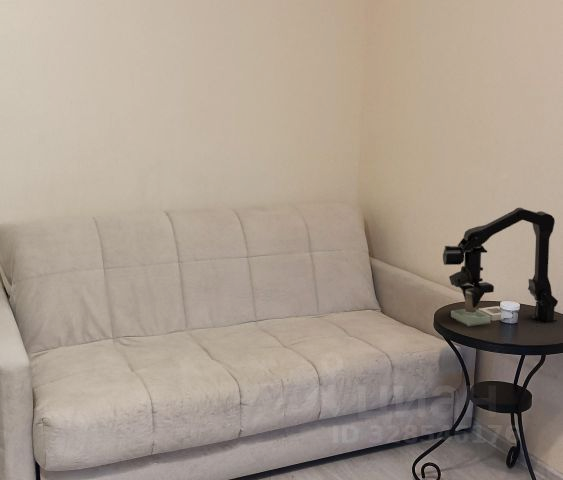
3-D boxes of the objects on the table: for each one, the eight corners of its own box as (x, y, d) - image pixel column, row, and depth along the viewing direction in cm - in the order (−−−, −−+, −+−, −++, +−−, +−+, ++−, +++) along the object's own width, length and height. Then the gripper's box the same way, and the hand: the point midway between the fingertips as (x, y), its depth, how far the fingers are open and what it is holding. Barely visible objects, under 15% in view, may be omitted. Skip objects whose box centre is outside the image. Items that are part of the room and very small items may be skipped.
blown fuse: (478, 314, 249) (479, 290, 247) (469, 315, 248) (469, 292, 246) (472, 311, 253) (473, 288, 251) (462, 312, 252) (463, 289, 250)
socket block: (513, 317, 253) (513, 312, 252) (492, 320, 250) (492, 315, 250) (498, 311, 261) (498, 306, 261) (477, 313, 258) (478, 308, 258)
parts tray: (490, 323, 247) (490, 316, 247) (468, 326, 244) (468, 319, 244) (472, 314, 258) (472, 308, 257) (451, 317, 255) (451, 310, 254)
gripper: (439, 260, 253) (438, 301, 256) (468, 272, 236) (466, 315, 239) (465, 258, 256) (463, 298, 260) (495, 269, 239) (493, 312, 242)
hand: (470, 305), depth 250 cm, fingers closed on blown fuse, 4 cm apart
